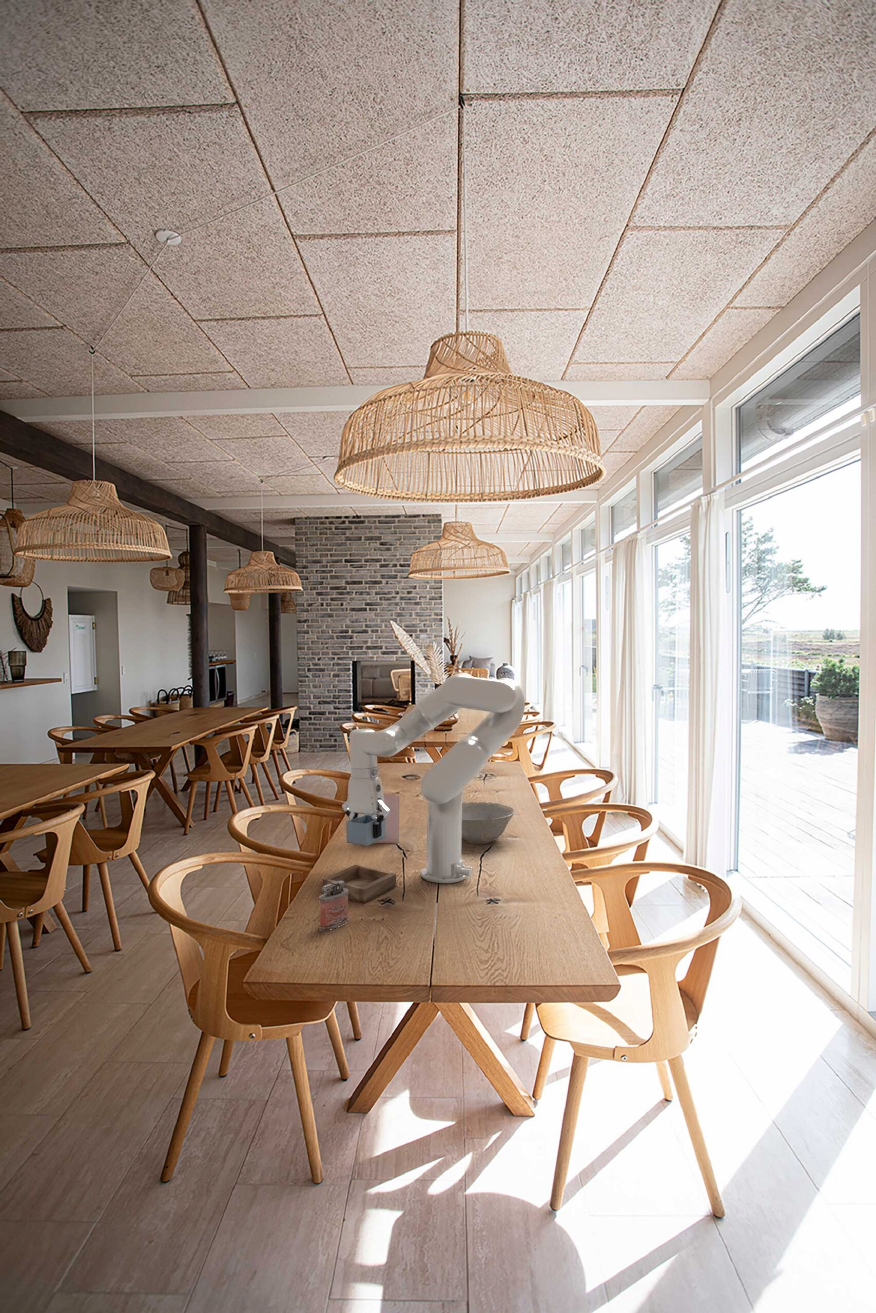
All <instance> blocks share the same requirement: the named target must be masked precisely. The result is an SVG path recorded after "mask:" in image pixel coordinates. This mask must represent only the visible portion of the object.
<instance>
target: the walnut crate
mask: <svg viewBox="0 0 876 1313" xmlns="http://www.w3.org/2000/svg"><path fill="white" fill-rule="evenodd" d="M332 881H335V882H338V881H344V888H347V889H348V890H349V893H348V900H349V899H350V901H353V900H354V902H356V903H362V904H367V903H369V902H370V901H372V900H373V899H374V900H375V899H376V898H378V897H381V895H384V894H385V892H386V893H387V891H388V892H390V891H391V890H393V889H395V888H397V873H393V872H389V871H384V870H380V869H375V868H372V867H367V866H362V865H359V864H354V865H352V866H350V867H347V868H344V869H343V870H342V869H341V871H337V872H336V873H333V874H331V875H329V876H327V877H323V878H322V887H323V886H325V885H328V884H331V883H332ZM326 893H327V892H326Z"/></svg>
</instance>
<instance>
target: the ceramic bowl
mask: <svg viewBox="0 0 876 1313" xmlns="http://www.w3.org/2000/svg"><path fill="white" fill-rule="evenodd" d="M514 815H515V808H513V807H511V806H508V805H506V804H503V803H498V802H489V801H487V802H486V801H479V802H477V801H469V802H466V801H465V802H463V801H462V839H463V840H465V841H467V842H468V843H470V844H473V845H486V844H488V843H491V842H493V841H495V840H497V839H499V838H500V837H501V835H502V834H503V833H504V832H505V829H506V828H507V825H508V823H509V822H510V821H511V819H512V818H513V816H514Z"/></svg>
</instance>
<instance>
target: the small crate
mask: <svg viewBox="0 0 876 1313" xmlns="http://www.w3.org/2000/svg"><path fill="white" fill-rule="evenodd" d="M376 817H377V816H376ZM373 824H374V821H373V819H372V817H371V815H368V814H365V815H364V814H362V815H359V816H358V817H357V818H354V819H352V820H349V819H348V820H347V821H345V830H346V832H345V834H346V843H347V844H352V845H358V846H364V847H368V846H371V845H373V844H374V843H375V842H377V841H380V840H382V839H384V838H386V823H385V819H384V820H383V822H382V823H381V826H382V833H381V834H382V835H381V836H380V837H378V838H376V839H374V838H373Z"/></svg>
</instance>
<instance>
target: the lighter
mask: <svg viewBox="0 0 876 1313" xmlns="http://www.w3.org/2000/svg"><path fill="white" fill-rule="evenodd" d="M321 892H322V894H321V895H319V897H318V901H319V924H318V930H319V932H322V931H327V932H329V931H328V930H330V929H333V928H336V927H338V926H341V925H343V924H345V923H346V922H348V923H349V915H348V913H349V911H348V910H349V908H348V907H349V904H348V903H349V902H348V901H349V899H348V893H349V890H348V889H347V888H344V881H338V882H335V881H332V883H331V884H328V885H325V886H323V885H322V888H321ZM326 892H327V893H326ZM346 924H347V923H346ZM346 924H345V925H346ZM343 926H344V925H343ZM341 927H342V926H341ZM336 929H337V928H336ZM333 930H334V929H333ZM330 931H331V930H330Z"/></svg>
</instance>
